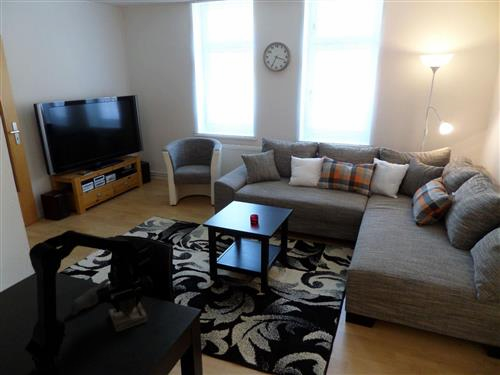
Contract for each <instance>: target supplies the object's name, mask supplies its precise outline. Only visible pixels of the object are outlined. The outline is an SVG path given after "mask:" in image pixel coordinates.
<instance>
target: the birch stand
mask: <svg viewBox="0 0 500 375" xmlns="http://www.w3.org/2000/svg"><path fill="white" fill-rule="evenodd" d="M109 315H110V319H111V322H112V324H113V327H114V329H115V331H116V332H118V333H119V332H122V331H123V330H126V329H128V328H129V329H130V328H132V327H134V326H138V325H140V324H141V325H142V324H143V323H146V322H148V321H149V320H148V315H147V313H146V310H145V309H144V307H143V305H142V304H141V302H139V304H138V306H137V307H136V306H135V308H134V309H133V312H132V313H131V314H130V315H123V313H122V312H121V311H120V310H119V313H117V311H116V309H115V308H114V307H113V308H112V309H109ZM116 332H115V333H116Z"/></svg>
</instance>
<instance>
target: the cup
mask: <svg viewBox="0 0 500 375" xmlns="http://www.w3.org/2000/svg"><path fill="white" fill-rule="evenodd" d="M114 296H115V299H116V301H117V305H118V309H119V310H120V311H121V312H122V313H123V315H130V314H131V313H132V312H133V309H134V308H135V306H136V296H137V293H136V292H135V289H133V290H129V291H126V292H123V293H119V294H116V295H114Z"/></svg>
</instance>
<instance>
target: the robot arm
mask: <svg viewBox="0 0 500 375" xmlns="http://www.w3.org/2000/svg"><path fill="white" fill-rule="evenodd" d="M77 247H84V248H90V249H95V250H101V251H107V252H110V253H112V254H114V255H117V256H115V257H114V256H112V257H111V258H110V259H109V260H108V262H107V264H108V265H110V266H112V267H113V268H114V272H113V271H110V272H107V279H108V280H109V282H114V287H116V288H112V289H109V286H106V287H104V288H101V289H98V290H97V291H96V295H97V299H98V302H97V303H98V304H100V305H102V304H111V306H113V309H114V308H115V309H116V311H117V313H119V309H118V305H117V301H116V299H115V295H116V294H120V293H123V292H126V291H129V290H130V291H131V290H135V292H136V293H137V296H136V307H137V306H138V304H139V302H140V301H141V300H142V298H143V296H144V294H145V293H147V291H149V290H152V289H154V283H153V280H152V279H151V277H150V275H145V276H141V277H138V278H137V281H135V282H134V275H133V269H132V268H133V267H138V266H140V265H142V264H144V263H145V262H148V261H149V260H151V258H152V254H151V252H150V250H149V248H148V247H147V244H145V243H140V244H138V246H135V247H134V246H133V242H132V241H130V240H127V239H125V238H123V237H122V236H121V237H120V236H108V237H104V236H100V235H99V236H98V235H93V234H88V233H83V232H79V231H76V230H72V229H70V230H66V231H65V232H62V233H61V234H58V235H55V236H52V237H49V238H47V239H45V240H44V241H43V242H38V243H36V244H35V245H33V246H32V247H31V248H30V250H29V253H28V256H29V259H30V264H31V267H32V269H33V271H34V272H35V276H36V293H37V296H36V298H37V299H36V300H37V321H36V323H35V325H34V327H33V330H32V336H31V339H30V340H29V342H28V343H27V345H26V346H25V348H24V351H25V352H26V353H27V354H28V355H30V356H31V359H32V360H31V361H32V365H33V375H59V374H60V365H59V364H60V363H59V359H58V358H57V357H59V354H60V351H61V345H62V344H63V342H64V338H66V334H65V329H66V325H65V323H64V322H63V321H61V320H60V319H58V318H57V315H58V314H57V274H58V272H59V270H60V268H61V265H62V261H63V260H65V259H66V258H67V257H69V256H70V255H71V253H73V251H74V249H75V248H77ZM140 303H141V302H140Z"/></svg>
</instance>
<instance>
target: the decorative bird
mask: <svg viewBox="0 0 500 375" xmlns="http://www.w3.org/2000/svg"><path fill="white" fill-rule="evenodd" d="M109 282H110V281H109V280H108V278H104V280H103V281H101V282H99V283H98V284H96V285H94V286H92V287H91V288H89V289H88V290H87V291H85V292H84V293H83V294H82V295H80V296H79V297H77V298H76V299H75V300H73V302H72V304H71V309H70V310H71V312H72V315H73V316H74V317H76V315H77V314H78V313H79V312H80V311H81V310H82V309H87V308H89V307H92V306H95V305H96V304H97V303H99V302H98V299H97V295H96V291H97V290H98V289H101V288H104V287H107V284H108V283H109Z"/></svg>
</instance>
